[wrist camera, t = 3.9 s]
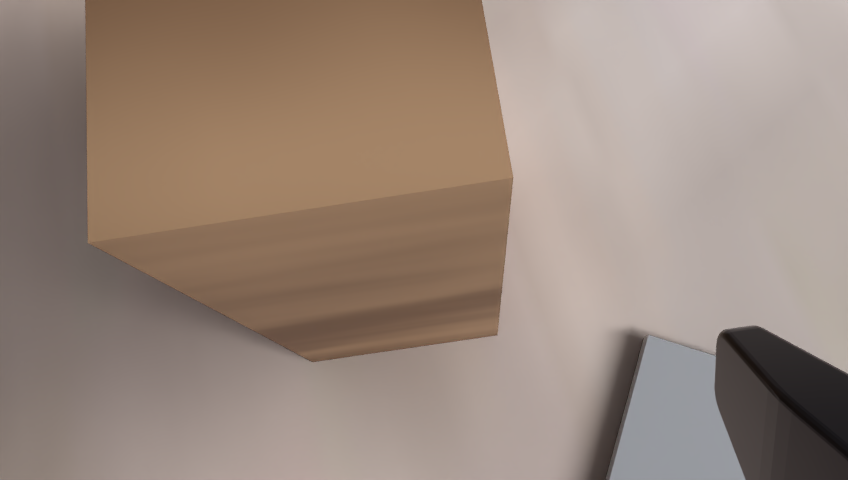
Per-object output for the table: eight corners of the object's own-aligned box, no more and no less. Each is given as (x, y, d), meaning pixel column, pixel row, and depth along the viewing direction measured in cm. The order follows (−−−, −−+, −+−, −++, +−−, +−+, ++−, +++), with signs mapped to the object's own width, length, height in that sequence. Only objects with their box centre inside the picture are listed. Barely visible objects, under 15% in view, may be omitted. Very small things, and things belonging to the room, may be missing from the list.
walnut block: (497, 335, 20) (513, 177, 9) (312, 361, 20) (88, 242, 9) (469, 161, 22) (450, -174, 10) (296, 188, 22) (84, -111, 10)
